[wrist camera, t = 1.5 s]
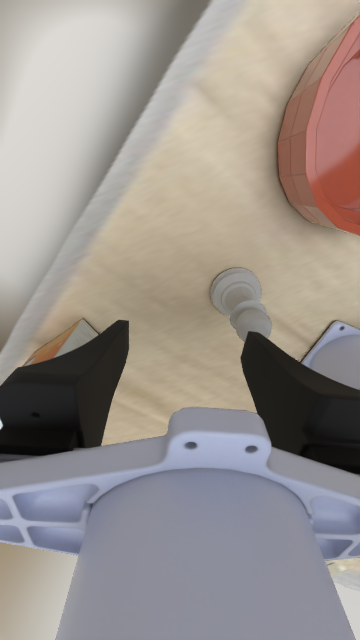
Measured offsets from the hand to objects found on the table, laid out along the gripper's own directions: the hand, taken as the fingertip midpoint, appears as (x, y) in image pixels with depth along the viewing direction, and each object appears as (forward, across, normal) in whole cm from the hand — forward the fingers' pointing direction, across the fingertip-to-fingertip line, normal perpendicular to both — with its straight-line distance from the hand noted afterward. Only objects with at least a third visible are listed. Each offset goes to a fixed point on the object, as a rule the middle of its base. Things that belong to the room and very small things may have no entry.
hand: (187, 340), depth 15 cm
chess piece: (+10, -5, 0) cm, 11 cm away
